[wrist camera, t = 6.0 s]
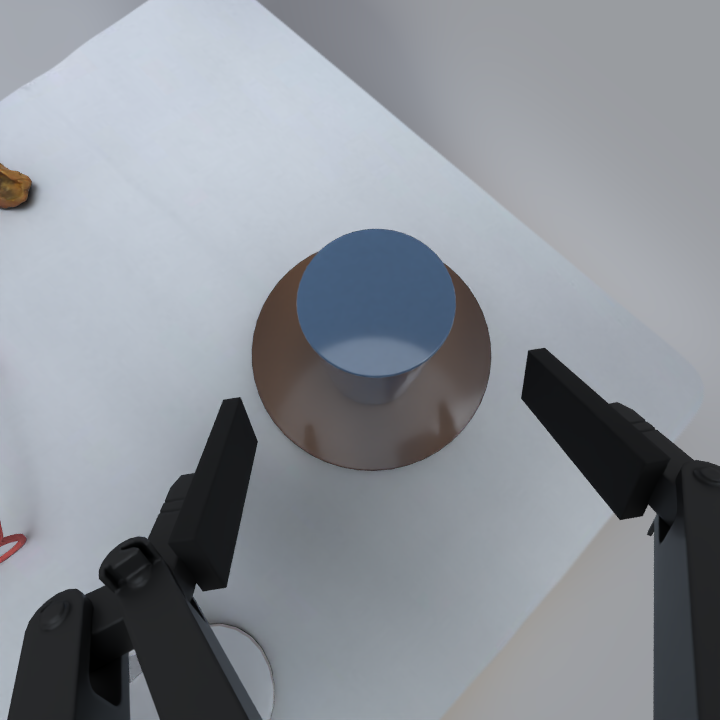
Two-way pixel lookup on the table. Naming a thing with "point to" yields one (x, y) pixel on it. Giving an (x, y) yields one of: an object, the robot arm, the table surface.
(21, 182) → the figurine
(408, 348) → the blue cylinder
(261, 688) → the mug
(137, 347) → the table surface
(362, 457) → the plate
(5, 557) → the red eyeglasses
